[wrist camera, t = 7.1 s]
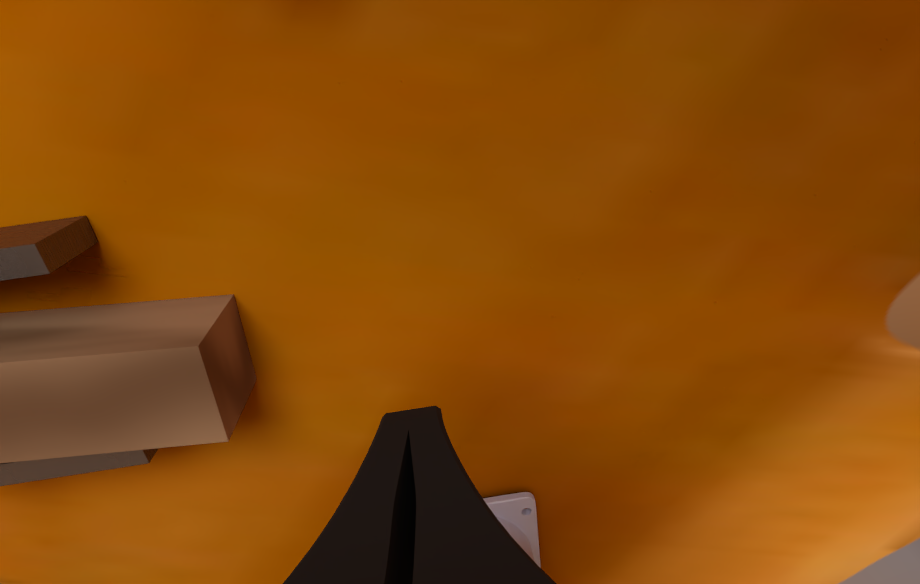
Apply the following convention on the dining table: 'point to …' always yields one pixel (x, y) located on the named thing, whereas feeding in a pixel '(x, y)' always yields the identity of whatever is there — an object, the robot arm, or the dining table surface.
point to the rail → (121, 377)
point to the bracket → (39, 255)
